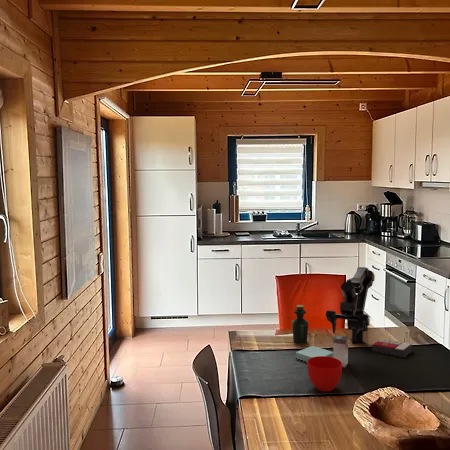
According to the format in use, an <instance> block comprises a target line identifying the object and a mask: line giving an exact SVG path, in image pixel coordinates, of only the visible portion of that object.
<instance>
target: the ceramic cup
mask: <svg viewBox="0 0 450 450" xmlns="http://www.w3.org/2000/svg"><path fill="white" fill-rule="evenodd" d="M306 363H307V364H306V365H307V373H308V377H309V380H310V382H311V384H312V385H313V386H314V387H315V389H316V390H318V391H320V392H331V391H333V390H334V389H335V388H336V387H337V386H338V385H339V383H340V381H341V377H342V372H343V367H342V362H341V361H340V360H338V359H336V358H333V357H327V356H317V357H312V358H310V359H309V360H308V362H306Z"/></svg>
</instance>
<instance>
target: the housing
mask: <svg viewBox="0 0 450 450" xmlns="http://www.w3.org/2000/svg"><path fill="white" fill-rule="evenodd" d="M332 339H333V340H332V342H333V343H332V345H333V347H332V348H333V350H332V352H333V358H336V359H338V360H340V361H341V362H342V368H346V367H347V365H348V363H349V357H348V356H349V336H348V335H340V334H336V335H335V336H334V337H333V338H332Z"/></svg>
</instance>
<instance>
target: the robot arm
mask: <svg viewBox="0 0 450 450" xmlns="http://www.w3.org/2000/svg"><path fill="white" fill-rule="evenodd" d="M375 277H376V276H375V274H374V271H372V270H370V269H369V268H368V267H365V266H364V267H362V266H359V267H357V269H356V271H355V274H354V275H353V277H351V278H348V279H346V281H344V282H342V283H341V285H340V289H341V292H342V296H343V297H344V299H343V300H344V301H343V302H342V301H341V302H340V303H339V311H340V313H337V312H336V310H333V309H332V310H331V309H328V310H326V312H325V318H326V320H327V321H328V322H329V323H330V324H331V325H332V333H333V334H336V328H337V320H338V319H340V320H347V321H346V323H347V330H351V337H350V338H349V341H350V343H351V344H356V345H357V344H358V345H359V344H361V345H362V344H366V341H365V340H364V339H365V338H364V334H365V333H364V332H368V331H369V330H368V329H369V327H368V326H370V322H371V321H370V317H369V315H368V314H367V313H364V312H365V307H366V301H367V297H368V292H369V289H370V288H372V287H373V283H374V282H375V279H376V278H375Z"/></svg>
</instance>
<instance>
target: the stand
mask: <svg viewBox="0 0 450 450" xmlns="http://www.w3.org/2000/svg"><path fill="white" fill-rule="evenodd" d="M317 356H327V357H333V350H332V351H331V350H327V349H324V348H321V347H318V346H314V345H311V346H309V347H306V348H303V349H301V350H299V351H296V352H295V359H296V358H297V359H296V360H298V359H300V360H299V361H301V360H303V361H302V362H304V361H306V362H305V363H307V362H308V360H309V359H310V358H312V357H317Z"/></svg>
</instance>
